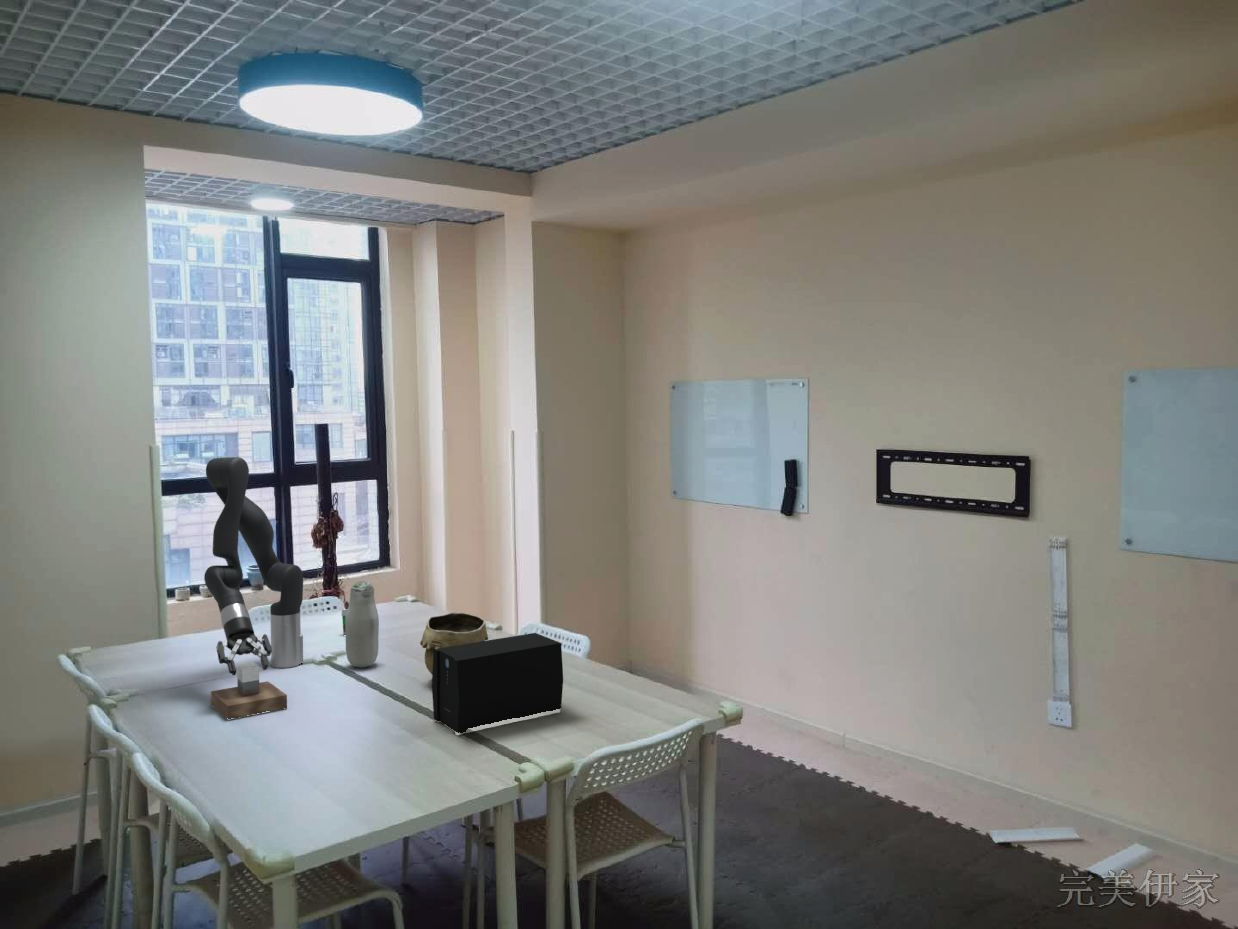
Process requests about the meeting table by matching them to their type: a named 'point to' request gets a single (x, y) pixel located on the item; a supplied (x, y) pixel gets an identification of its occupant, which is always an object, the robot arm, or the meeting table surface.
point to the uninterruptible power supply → (496, 680)
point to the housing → (248, 679)
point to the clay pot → (451, 633)
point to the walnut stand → (248, 701)
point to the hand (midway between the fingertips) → (250, 671)
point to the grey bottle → (362, 626)
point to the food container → (344, 620)
